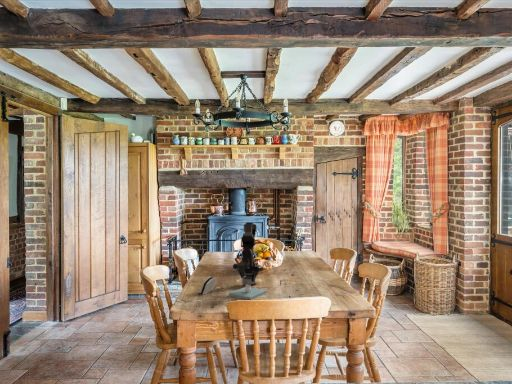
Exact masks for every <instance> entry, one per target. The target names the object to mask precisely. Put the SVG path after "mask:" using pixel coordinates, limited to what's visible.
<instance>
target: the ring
mask: <svg viewBox="0 0 512 384" xmlns="http://www.w3.org/2000/svg"><path fill="white" fill-rule="evenodd" d="M241 284H242V285H244V284H246V285H249V284H254V282H252V277H246V276H244V277H243V278H242V279H241Z"/></svg>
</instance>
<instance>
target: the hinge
mask: <svg viewBox="0 0 512 384" xmlns="http://www.w3.org/2000/svg"><path fill="white" fill-rule="evenodd" d="M216 283H217V278H216V277H213V276H208V277H206V278H205V279H204V280H203V282H202V284H201V286H200V289H199V290H197V292H196V295H198V294H202V295H203V296H204V295H206V294H208V293H209V292H210V291H212V290H213V289H215V287H216Z"/></svg>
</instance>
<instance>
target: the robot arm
mask: <svg viewBox="0 0 512 384" xmlns="http://www.w3.org/2000/svg"><path fill="white" fill-rule="evenodd" d="M257 231H258V229H257V224H255V223H254V222H249V221H247V222H245V224H243V232H244V233H242V236H241V239H240V247H241V248H242V252H241V261H239V262H236V263H233V264H232V269H234V270H235V271H237V272H238V273H239V275H240V277H241V280H242V278H243V277H252V282H254V284H251V287H253V286H255V285H257V284H258V283H257V282H256V278H257V276H258V275H259V273H261V272H262V271H264V267H263V265H259V264H257V265H256V263H255V260H254V259H255V257H254V247H255V246H256V238H255V236H256V234H257ZM243 285H244V286H245V284H243Z"/></svg>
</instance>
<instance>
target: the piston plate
mask: <svg viewBox="0 0 512 384" xmlns="http://www.w3.org/2000/svg"><path fill="white" fill-rule="evenodd" d="M267 293H268V290H267V289H260V288H254V287H252V286H251V284H249V285H246V284H245V285H244V287H242V288H239V289H237V290H234V291H232V292H229V293H228V297H231V296H232V298H238V299H242V300H243V299H244V300H248V299H252V300H254V299H257V298H258V297H261V296H263V295H265V294H267ZM256 297H257V298H256Z"/></svg>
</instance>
